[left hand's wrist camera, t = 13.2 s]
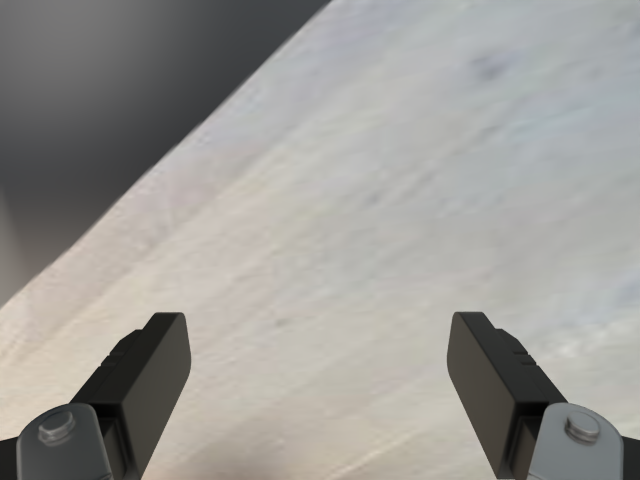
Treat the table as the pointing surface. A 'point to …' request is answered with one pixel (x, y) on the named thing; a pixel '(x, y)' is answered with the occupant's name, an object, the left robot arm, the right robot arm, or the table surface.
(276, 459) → the table surface
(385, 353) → the table surface
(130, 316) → the table surface
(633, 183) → the table surface
